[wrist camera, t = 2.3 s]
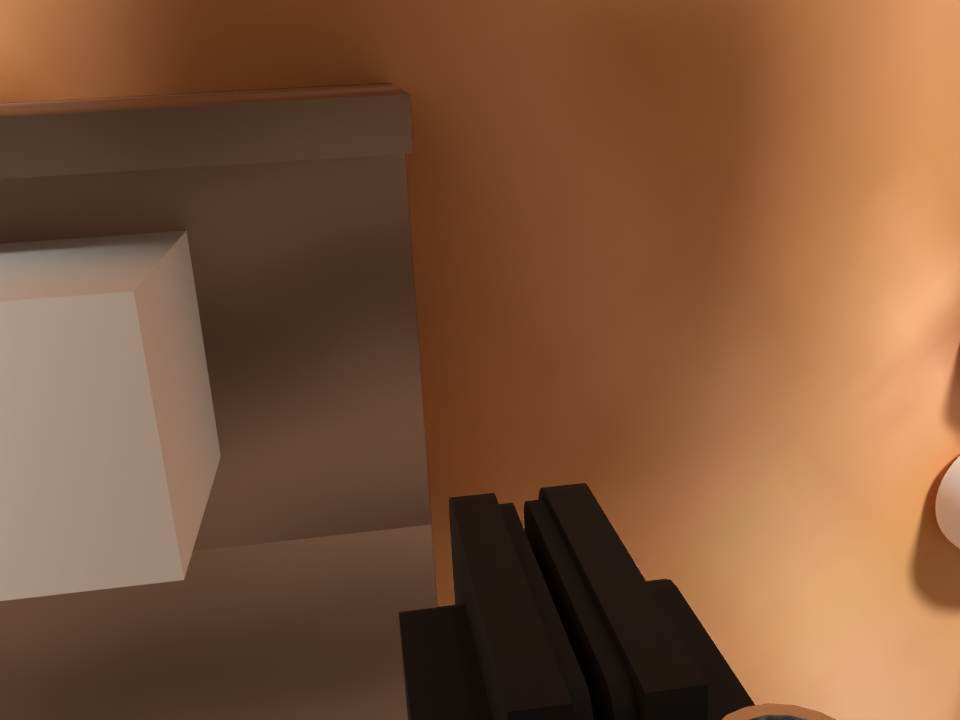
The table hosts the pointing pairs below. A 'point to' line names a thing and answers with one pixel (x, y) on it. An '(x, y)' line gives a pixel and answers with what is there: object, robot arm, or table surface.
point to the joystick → (950, 504)
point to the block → (101, 414)
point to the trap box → (250, 404)
